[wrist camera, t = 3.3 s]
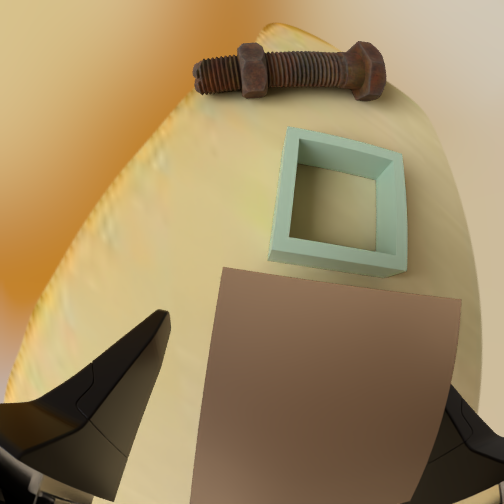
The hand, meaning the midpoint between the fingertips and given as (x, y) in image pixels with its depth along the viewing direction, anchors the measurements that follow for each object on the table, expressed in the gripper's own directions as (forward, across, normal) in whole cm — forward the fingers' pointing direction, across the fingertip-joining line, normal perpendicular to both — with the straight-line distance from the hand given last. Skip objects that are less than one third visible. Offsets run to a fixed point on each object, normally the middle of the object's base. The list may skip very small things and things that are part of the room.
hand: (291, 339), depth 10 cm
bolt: (+19, +1, -8) cm, 21 cm away
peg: (+4, 0, +6) cm, 7 cm away
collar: (+11, -3, -1) cm, 11 cm away
